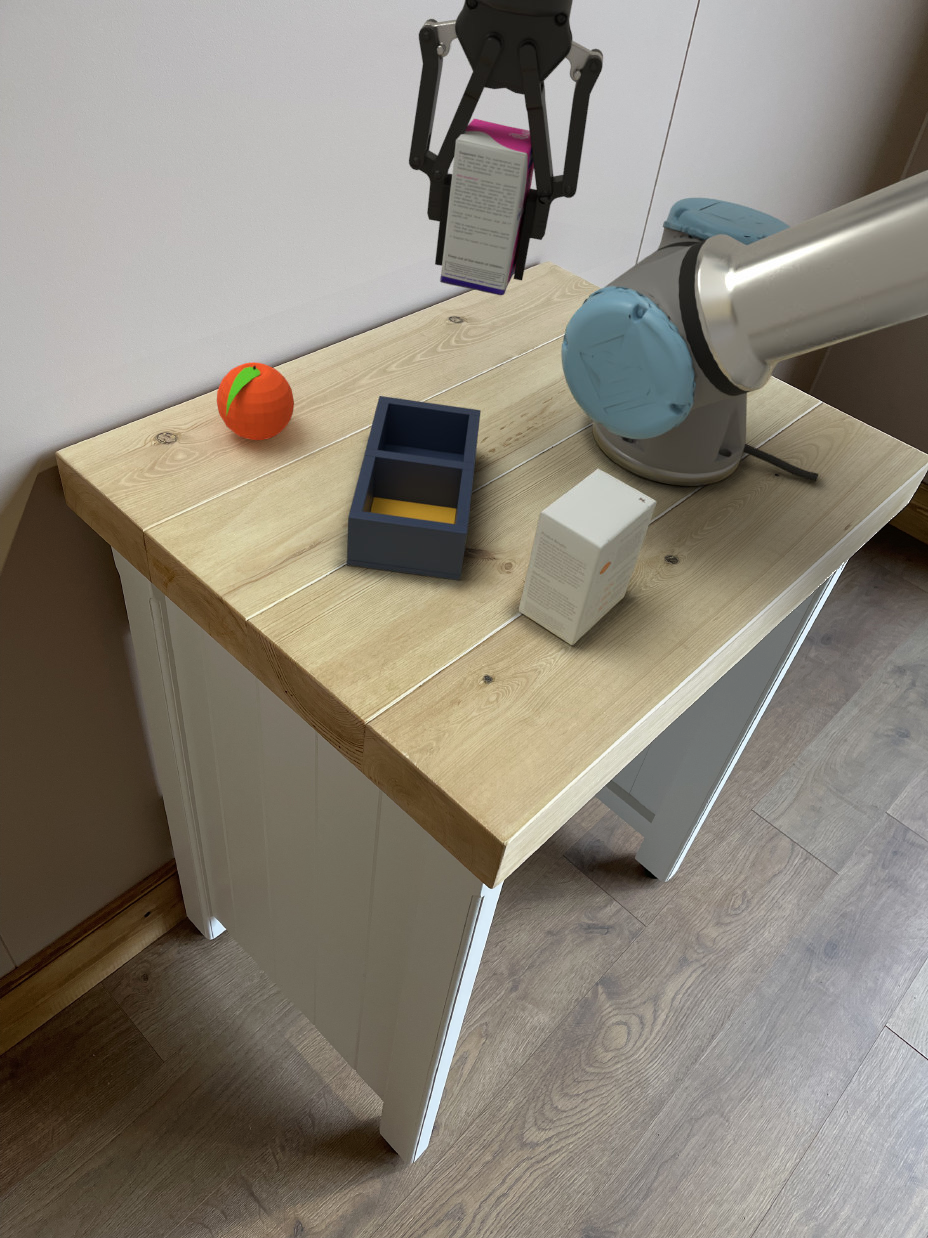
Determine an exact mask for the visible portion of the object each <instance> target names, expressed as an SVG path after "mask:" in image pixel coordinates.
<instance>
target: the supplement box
mask: <svg viewBox="0 0 928 1238" xmlns="http://www.w3.org/2000/svg"><path fill="white" fill-rule="evenodd" d="M452 163H453V164H452V173H451V174H452V182H451V190H450V199H449V209H448V218H447V227H446V236H445V245H444V254H443V262H442V266H441V271H440V277H439V282H440V283H442V284H445V285H449V286H454V287H460V288H464V289H470V290H473V291H478V292H482V293H488V294H491V295H495V296H504V295H505V294H506V292H507V288H508V286H509V283H510V282H511V280H512V278H513V277H514V273H515V267H516V261H517V256H518V250H519V244H520V238H521V232H522V226H523V221H524V215H525V209H526V203H527V198H528V194H529V189H532V182H533V176H534V164H533V156H532V148H531V140H530V131H529V130H528V129H524V128H518V127H513V126H509V125H504V124H499V123H495V122H491V121H487V120H483V119H478V118H473V119H471V120H470V122H469V124H468V126H467V128H466V131H465V133H464V134H461V135H460V136H459V137H458V138H457V140H456V146H455V155H454V158H453V162H452Z"/></svg>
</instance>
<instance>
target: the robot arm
mask: <svg viewBox="0 0 928 1238" xmlns="http://www.w3.org/2000/svg"><path fill="white" fill-rule="evenodd" d="M573 1H574V0H464V3H463V7H462V8H461V10H460V11H459V13H458V16H457V17H456V19H451V20H444V21H438V20H436V19H434V18H429V19H427V20H426V21H425V22H424V24H423V25H422V27H421V28H420V29H419V32H418V42H419V43H418V44H419V49H420V55H421V60H422V68H421V73H420V74H421V75H420V81H419V87H418V94H417V101H416V102H417V103H416V108H415V116H414V121H413V128H412V136H411V143H410V150H409V156H408V165H409V167H410V168H411V169H412V170H414V171H420V172H422V173H423V174H425V175H426V176H427V177H428V179H429V190H428V192H429V193H428V200H427V210H426V213H427V218H428V220H429V221H434V222H439V223H438V233H437V243H436V249H435V261H434V265H435V266H441V267H442V262H443V254H444V245H445V236H446V227H447V218H448V209H449V199H450V190H451V182H452V173H449V170H450V167H451V165H452V163H453V162H454V155H455V146H456V140H457V138H458V137H459V136H460V135H461V134H464V133H465V131H466V128H467V126H468V125H469V124H470V122H471V120H472V117H473V115H474V112H475V110H476V108H477V105H478V103H479V101H480V99H481V96H482V94H483V92H484V89H485V88H486V89H490V90H501V89H507V90H508V91H509V92H510V91H511V92H512V93H514V94H518V95H523V96H524V104H525V108H526V112H527V114H526V115H527V121H528V122H527V123H528V129H529V131H530V140H531V148H532V156H533V164H534V171H533V174H534V182H535V188H530V189H529V194H528V198H527V203H526V209H525V215H524V221H523V226H522V232H521V238H520V244H519V250H518V256H517V261H516V267H515V273H514V274H513V280H517V281H523V278H524V274H525V268H526V262H527V258H528V252H529V246H530V241H531V239H534V240H539V241H542V240H543V239H544V237H545V235H546V230H547V226H548V221H549V216H550V215H549V214H550V209H551V205H552V203H553V201H555V200H557V199H558V198H563V197H564V198H567V199H571V198H574V196H575V195H576V194H577V189H578V183H579V174H580V168H581V162H582V154H583V148H584V147H583V146H584V140H585V133H586V127H587V126H586V125H587V119H588V112H589V105H590V97H591V93H592V92H593V89H594V87H595V85H596V83H597V81H598V79H599V77H600V74H601V72H602V71H603V65H604V54H603V51H602V50H600V49H599V48H592V49H589V48H587V47H586V46H583V45H582V44H580V43H578V42H576V41H574V40H573V33H572V30H571V25H570V24H571V22H570V19H571V13H572V7H573ZM456 39H457V40H458V42H459V45H460V46H461V49H462V51H463V53H464V55H465V58H466V60H467V61H468V65H469V66H470V68H471V70H472V73H471V75H470V78H469V80H468V82H467V84H466V87H465V89H464V92H463V94H462V96H461V98H460V100H459V101H460V102H459V103H458V106H457V108H456V111H455V113H454V115H453V118H452V120H451V122H450V125H449V127H448V130H447V132H446V135H445V137H444V139H443V142H442V144H441V146H440V149H439V152H438V153H437V154H436V153H435V152H433V151H431V150H430V149H431V148H430V147H431V140H432V134H433V129H434V123H435V117H436V110H437V103H438V97H439V91H440V85H441V80H442V79H441V78H442V73H443V66H444V65H443V64H444V57H447V56H448V54H449V53H450V51H451V49H452V42H453V41H454V40H456ZM565 59H566V60H568V62H569V64H570V69H569V78H570V79H571V80H572V81H573V82H574V84H575V85H574V89H573V96H572V103H571V111H570V117H569V118H570V119H569V126H568V132H567V134H568V135H567V141H566V149H565V157H564V163H563V172H562V174H559V175H554V166H553V158H552V157H553V156H552V148H551V139H550V130H549V122H548V121H549V120H548V112H547V111H548V110H547V101H546V86H545V85H546V84H545V81H546V80H547V79H548V78H549V76H550V75H551V74H552V73H553V72H554V71H555V70H556V69H557V68H558V67H559V66H560V64H561V63H562V62H563V61H564V60H565ZM662 227H663V230H662V231H663V232H662V235H661V240H660V243H659V245H658V248H657V249H656V250H655V251H653V252H652V253H651V254H649V255H648V256H646V257H644V258H643V259H642V260H640V261H639V262H637V263H636V264H635V265H633V266H632V267H630V268H629V269H627V270H626V271H625V272H623V273H622V274H620V275H619V276H618V277H616V278H615V279H614V280H612V281H611V282H610V283H608V284H607V285H605V286H604V287H601V288H599V289H597V290H595V291H594V292H592V293H591V294H589V295H588V297H587V298H585V300H584V301H583V303H582V304H581V306H580V307H579V308H578V309H577V310H576V311H575V312H574V313H573V314H572V316H571V317H570V319H569V320H568V323H567V325H566V327H565V331H564V335H563V341H562V343H561V349H560V353H561V355H560V356H561V366H562V372H563V375H564V380H565V382H566V385H567V387H568V389H569V392H570V394H571V395H572V397H573V399H574V400H575V402H576V404H577V405H578V407H579V408H580V409H581V410H582V411H583V412H584V414H586V416H588V418H589V419H590V420H592V427H591V428H592V435H593V438H594V440H595V442H596V444H597V445H598V447H599V448H600V450H601V451H602V452H603V453H604V454H605V455H606V456H607V457H608V458H609V459H611V461H613V462H614V463H616V464H617V465H618V466H620V467H621V468H623V469H625V470H627V471H628V472H631V473H632V474H634V475H637V476H639V477H642V478H644V479H648V480H651V481H655V482H657V483H661V484H666V485H672V486H673V485H674V486H685V487H686V486H687V487H696V486H705V485H711V484H715V483H718V482H720V481H722V480H724V479H726V478H728V477H730V476H731V475H732V474H733V473H734V472H735V471H736V470H737V468H738V467H739V465H740V462H741V459H742V457H743V454H744V453H745V454H747V455H750V456H752V457H754V458H757V459H759V460H761V461H763V462H765V463H767V464H771V465H772V466H775V467H776V468H778V469H781V470H782V471H784V472H787V473H788V474H790V475H793V476H795V477H798V478H800V479H804V480H807V481H811V482H816V483H817V480H818V478H819V473H817V472H813V471H809V470H805V469H803V468H800V467H797V466H796V465H793V464H792V463H789V462H787V461H785V460H783V459H781V458H779V457H777V456H775V455H772V454H771V453H768V452H766V451H765V450H761V449H759V448H757V447H754V446H752V445H749V444H747V443H746V442H747V415H748V414H747V411H748V410H747V409H748V407H747V405H748V393H751V392H755V391H757V390H760V389H762V388H763V387H764V386H765V385H767V383H769V380H770V379H771V377H772V375H773V373H774V371H775V369H776V367H777V365H778V363H779V362H782V361H786V360H789V359H792V358H795V357H798V356H802V355H804V354H807V353H810V352H814V351H817V350H820V349H823V348H827V347H830V346H833V345H836V344H840V343H842V342H846V341H850V340H852V339H856V338H858V337H862V336H865V335H869V334H872V333H874V332H878V331H881V330H885V329H887V328H890V327H893V326H897V325H900V324H903V323H906V322H910V321H912V320H916V319H920V318H922V317H925V316H928V169H927V170H924V171H921V172H919V173H917V174H914V175H912V176H910V177H907V178H905V179H902V180H900V181H898V182H895V183H892V184H891V185H888V186H886V187H883V188H880V189H878V190H876V191H874V192H871V193H869V194H867V195H864V196H862V197H859V198H857V199H855V200H852V201H850V202H847V203H844V204H843V205H840V206H838V207H836V208H832V209H831V210H828V211H825V212H823V213H821V214H819V215H816V216H814V217H811V218H809V219H807V220H804V221H801V222H799V223H796V224H795V225H793V226H790V225H789V224H787V223H786V222H784V221H782V220H781V219H779V218H777V217H775V216H773V215H771V214H768V213H766V212H763V211H761V210H758V209H755V208H752V207H750V206H746V205H743V204H739V203H735V202H731V201H727V200H722V199H717V198H716V199H715V198H709V197H686V198H682V199H680V200H677V201H676V202H674V203H673V204H672V206H671V208H670V209H669V212H668V215H667V218H666V220H665V221H663V223H662Z"/></svg>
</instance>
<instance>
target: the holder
mask: <svg viewBox="0 0 928 1238" xmlns="http://www.w3.org/2000/svg"><path fill="white" fill-rule="evenodd" d="M480 421H481V410H480V409H475V408H468V407H461V406H453V405H447V404H440V403H433V402H427V401H419V400H413V399H412V400H411V399H405V398H398V397H392V396H384V395H379V396H378V400H377V405H376V408H375V411H374V415H373V419H372V423H371V427H370V430H369V434H368V439H367V443H366V446H365V450H364V454H363V455H364V456H363V459H362V462H361V466H360V471H359V474H358V478H357V481H356V484H355V485H356V486H355V490H354V493H353V497H352V501H351V505H350V509H349V513H348V516H347V540H346V544H347V545H346V566H352V567H359V568H366V569H373V570H380V571H381V570H382V571H389V572H396V573H402V574H403V573H404V574H410V575H417V576H425V577H431V578H438V579H439V578H440V579H447V580H452V581H453V580H455V581H461V576H462V569H463V562H464V556H465V551H466V543H467V538H468V532H469V531H468V530H469V521H470V512H471V511H470V510H471V503H472V494H473V485H474V475H475V467H476V458H477V449H478V440H479V439H478V438H479V432H480V431H479V428H480Z"/></svg>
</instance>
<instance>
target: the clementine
mask: <svg viewBox="0 0 928 1238" xmlns="http://www.w3.org/2000/svg"><path fill="white" fill-rule="evenodd" d="M216 406H217V410H218V415H219V417H220V418H221V419H222V422H223V423H224V425H225V426H226V428H228V429H229V430H230V431H231V432H233V433H234V435H236V436H239V437H240V438H243V439H247V440H251V441H264V440H268V439H271V438H273V437H276V436H277V435H279V434H280V433H281V432H283V430H285V429H286V427H287V426H288V425H289V423H290V421H291V419H292V417H293V414H294V408H295V400H294V394H293V390H292V388H291V385H290V383H289V381H288V380H287V379H286V377H285V376H284V375H283V374H282V373H281V372H280V371H278V370H277V369H276V368H273V367H272V366H270V365H268V364H265V363H261V362H245V363H241V364H240V365H237V366H235V367H233V368H232V369H230V370H229V371H228V372H227V373H226V374H225V375H224V376H223V378H222V379H221V381H220V384H219V386H218V389H217V391H216Z"/></svg>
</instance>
